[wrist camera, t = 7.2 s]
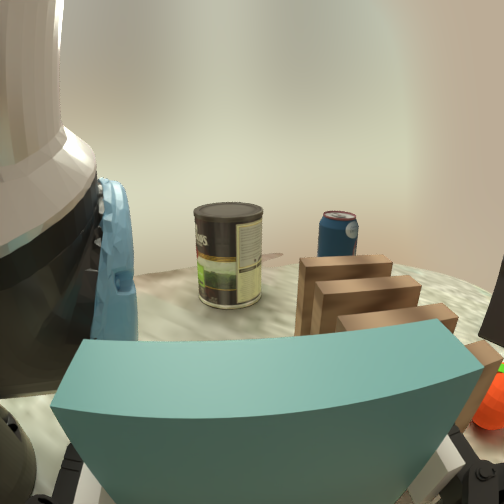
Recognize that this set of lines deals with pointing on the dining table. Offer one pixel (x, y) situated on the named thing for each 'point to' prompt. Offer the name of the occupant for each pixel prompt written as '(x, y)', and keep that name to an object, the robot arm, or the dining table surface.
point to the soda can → (337, 234)
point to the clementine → (492, 404)
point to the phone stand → (495, 313)
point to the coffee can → (229, 254)
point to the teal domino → (266, 415)
